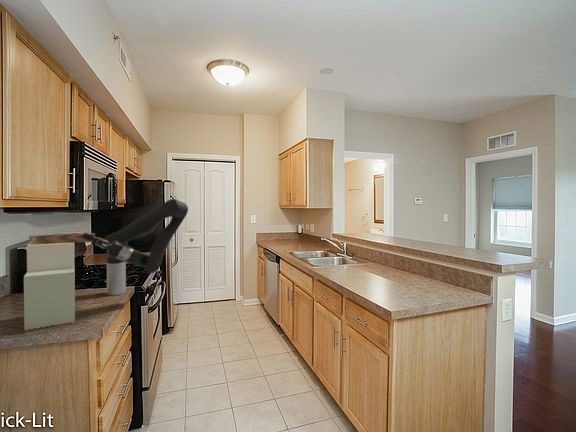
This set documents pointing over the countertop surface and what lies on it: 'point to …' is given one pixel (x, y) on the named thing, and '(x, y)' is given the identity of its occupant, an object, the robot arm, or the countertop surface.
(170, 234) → the robot arm
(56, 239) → the walnut block
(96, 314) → the countertop surface
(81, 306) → the countertop surface
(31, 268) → the stepped stand
